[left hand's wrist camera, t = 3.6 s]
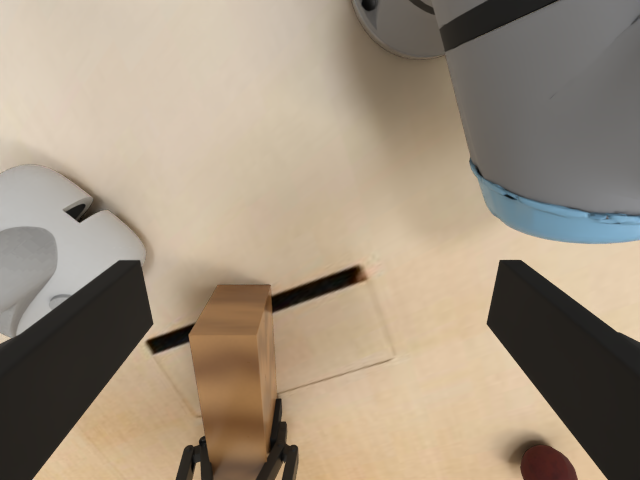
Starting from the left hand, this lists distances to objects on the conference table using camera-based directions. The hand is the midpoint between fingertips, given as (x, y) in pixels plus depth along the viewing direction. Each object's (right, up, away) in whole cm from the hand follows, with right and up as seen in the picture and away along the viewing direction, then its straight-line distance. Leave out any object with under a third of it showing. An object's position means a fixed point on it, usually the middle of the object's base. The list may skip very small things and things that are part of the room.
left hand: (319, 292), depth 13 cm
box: (-10, -15, +36) cm, 40 cm away
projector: (-32, 0, +30) cm, 44 cm away
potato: (+35, -32, +43) cm, 64 cm away
